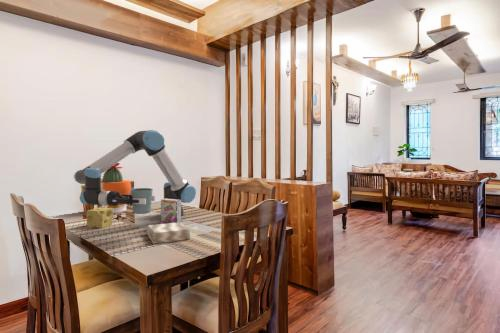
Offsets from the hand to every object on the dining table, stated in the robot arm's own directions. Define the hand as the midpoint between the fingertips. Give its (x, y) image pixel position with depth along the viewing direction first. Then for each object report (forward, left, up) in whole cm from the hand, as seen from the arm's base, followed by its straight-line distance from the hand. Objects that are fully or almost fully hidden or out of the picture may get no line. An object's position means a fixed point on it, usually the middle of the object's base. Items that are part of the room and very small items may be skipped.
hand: (150, 199), depth 159 cm
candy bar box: (-15, -17, -20) cm, 30 cm away
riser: (-9, +2, -20) cm, 22 cm away
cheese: (+22, -38, -20) cm, 49 cm away
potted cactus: (+10, -82, -20) cm, 85 cm away
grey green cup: (+3, -3, -7) cm, 8 cm away
